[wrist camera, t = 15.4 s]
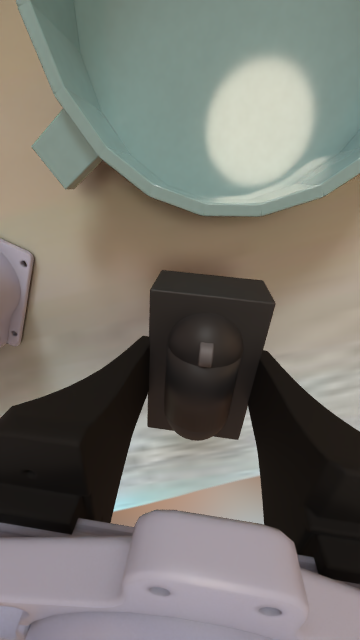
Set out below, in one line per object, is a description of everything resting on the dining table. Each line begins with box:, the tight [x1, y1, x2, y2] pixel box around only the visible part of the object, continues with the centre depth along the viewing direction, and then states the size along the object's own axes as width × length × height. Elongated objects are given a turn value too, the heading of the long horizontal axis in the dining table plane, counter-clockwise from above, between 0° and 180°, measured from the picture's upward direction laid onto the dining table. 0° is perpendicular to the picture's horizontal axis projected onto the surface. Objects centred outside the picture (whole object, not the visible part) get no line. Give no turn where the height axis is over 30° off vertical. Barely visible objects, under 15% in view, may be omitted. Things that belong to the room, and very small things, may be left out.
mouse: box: [148, 270, 275, 441], centre depth 12 cm, size 8×5×4 cm, turn 176°
